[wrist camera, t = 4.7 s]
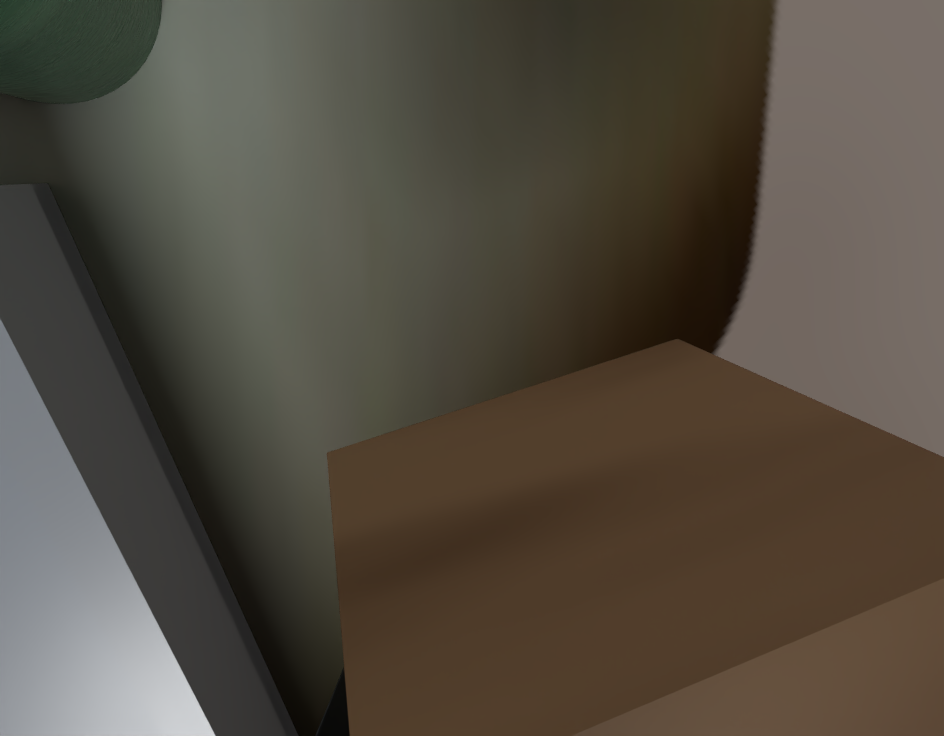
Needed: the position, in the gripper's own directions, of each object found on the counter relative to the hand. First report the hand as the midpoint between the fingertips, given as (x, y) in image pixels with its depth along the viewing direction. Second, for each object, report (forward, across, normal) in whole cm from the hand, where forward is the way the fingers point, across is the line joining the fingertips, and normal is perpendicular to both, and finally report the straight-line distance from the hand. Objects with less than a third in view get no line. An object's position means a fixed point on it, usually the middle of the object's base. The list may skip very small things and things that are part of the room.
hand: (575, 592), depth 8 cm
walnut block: (+1, 0, 0) cm, 1 cm away
